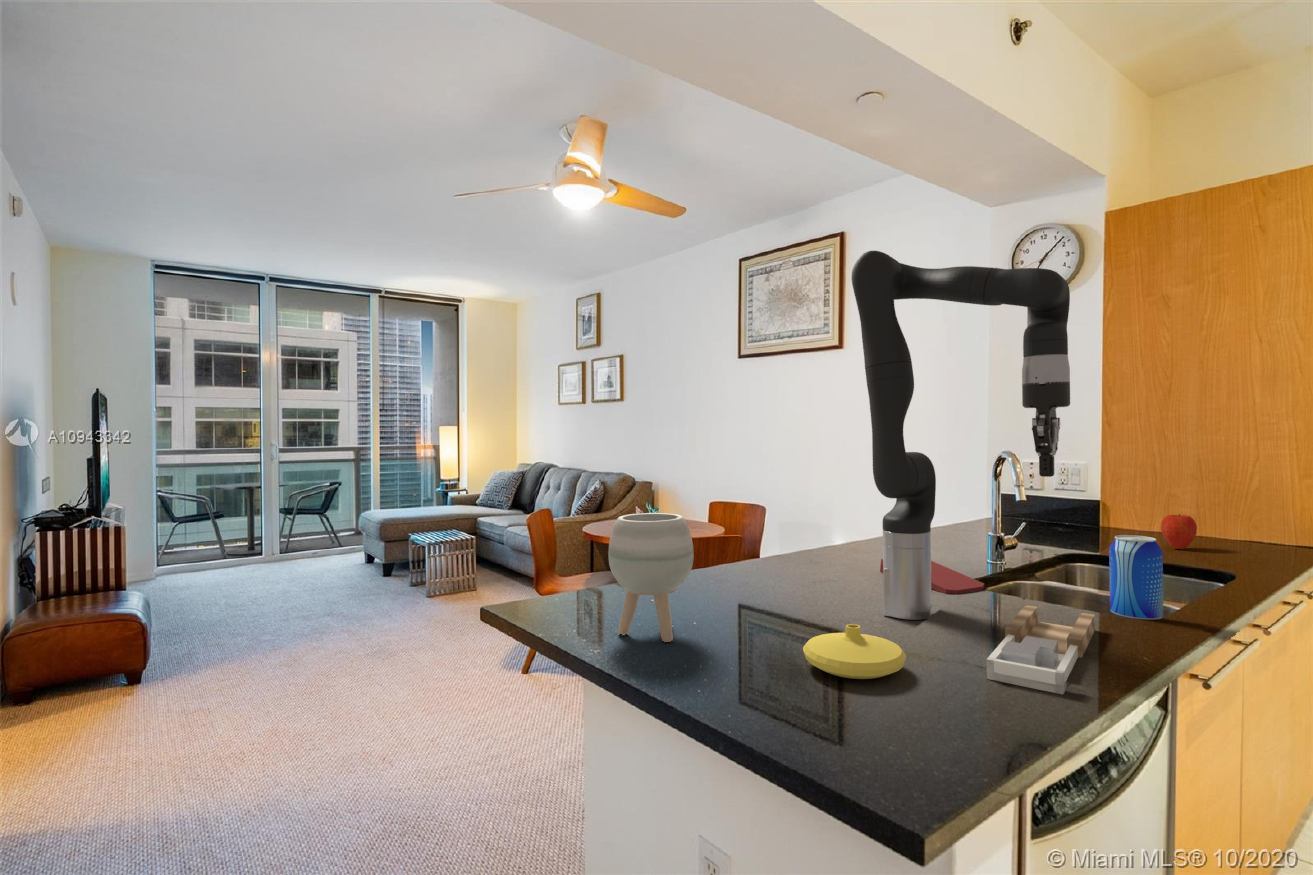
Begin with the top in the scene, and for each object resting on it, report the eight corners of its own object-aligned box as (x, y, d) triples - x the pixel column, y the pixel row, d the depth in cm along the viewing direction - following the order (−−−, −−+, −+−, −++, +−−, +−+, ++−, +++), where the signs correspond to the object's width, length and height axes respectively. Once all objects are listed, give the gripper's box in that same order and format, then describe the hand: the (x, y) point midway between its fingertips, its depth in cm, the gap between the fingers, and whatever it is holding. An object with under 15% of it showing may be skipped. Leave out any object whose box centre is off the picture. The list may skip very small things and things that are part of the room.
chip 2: (1026, 654, 106) (1026, 635, 106) (1058, 659, 104) (1058, 641, 104) (1020, 662, 103) (1020, 643, 103) (1053, 668, 100) (1053, 648, 100)
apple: (1171, 551, 193) (1171, 515, 193) (1154, 546, 202) (1154, 511, 202) (1204, 552, 192) (1203, 515, 192) (1185, 547, 200) (1185, 511, 200)
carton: (987, 605, 154) (909, 569, 177) (989, 585, 154) (911, 552, 176) (948, 611, 150) (873, 574, 173) (950, 591, 149) (875, 556, 172)
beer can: (1148, 628, 122) (1147, 542, 122) (1101, 617, 130) (1100, 536, 130) (1172, 621, 126) (1171, 538, 126) (1124, 611, 134) (1123, 533, 134)
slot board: (1025, 626, 125) (1025, 605, 125) (1094, 636, 118) (1094, 614, 118) (1005, 651, 111) (1005, 627, 111) (1081, 665, 104) (1081, 640, 104)
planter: (592, 636, 124) (590, 518, 124) (650, 617, 136) (648, 509, 136) (654, 655, 113) (652, 525, 113) (712, 632, 125) (710, 515, 125)
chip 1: (1008, 659, 104) (1007, 641, 104) (1040, 665, 101) (1040, 646, 101) (1001, 668, 101) (1001, 648, 101) (1035, 674, 98) (1034, 654, 98)
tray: (1008, 651, 111) (1008, 634, 111) (1078, 664, 105) (1077, 645, 105) (986, 678, 100) (986, 659, 100) (1063, 694, 93) (1063, 673, 93)
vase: (795, 653, 113) (794, 612, 113) (888, 653, 112) (887, 611, 112) (813, 690, 97) (812, 642, 97) (921, 689, 96) (921, 642, 96)
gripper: (1029, 384, 127) (1030, 473, 127) (1014, 381, 117) (1016, 478, 117) (1075, 381, 122) (1076, 474, 122) (1064, 378, 112) (1065, 479, 112)
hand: (1046, 476), depth 120 cm, fingers closed
